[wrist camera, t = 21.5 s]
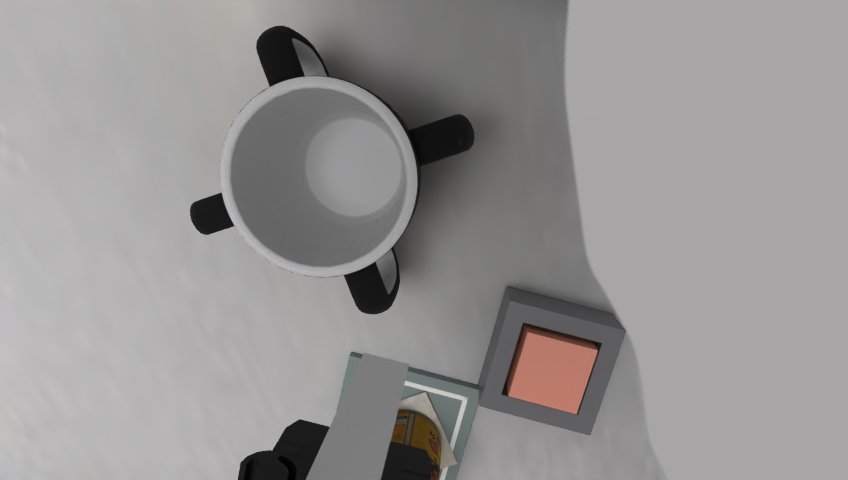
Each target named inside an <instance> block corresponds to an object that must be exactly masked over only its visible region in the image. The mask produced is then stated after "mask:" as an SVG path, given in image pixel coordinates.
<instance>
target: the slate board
mask: <svg viewBox="0 0 848 480" xmlns="http://www.w3.org/2000/svg"><path fill="white" fill-rule="evenodd" d="M362 356H363V355H361V354H357V353H353V352H351V354H350V357H349V361H348V365H347V370H346V374H345V378H344V382H343V387H342V391H341V395H340V400H339V404H338V408H339V406H340V404H341V402H342V400H343V398H344V395H345V393H346V391H347V389H348V387H349V384H350V382H351V380H352V378H353V376H354V374H355V371H356V369H357V367H358V365H359V363H360V361H361V358H362ZM424 392H426V393H427V396H428V398H429V400H430V402H431V405H432V407H433V409H434V411H435V413H436V415H437V418H438V420H439V422H440V424H441V426H442V429H443V431H444V433H445V435H446V438H447V440H448V442H449V444H450V447H451V449H452V451H453V454H454V456H455V458H456V461H457V463H458V464H456V465H452V466H448V467H445V468H443V469H440V472H439V480H455V479H456V475H457V472H458V468H459V465H460V462H461V458H462V455H463V451H464V448H465V445H466V441H467V438H468V434H469V431H470V427H471V424H472V421H473V417H474V414H475V410H476V407H477V403H478V400H479V388H478V385H474V384H470V383H467V382H463V381H459V380H455V379H452V378H448V377H444V376H440V375H436V374H433V373H429V372H425V371H421V370H418V369H414V368H410V367H408V371H407V375H406V379H405V383H404V388H403V392H402V396H401V400H403V399H406V398H409V397H412V396H415V395H418V394H421V393H424ZM401 400H400V401H401ZM338 408H337V411H338ZM336 413H337V412H336Z"/></svg>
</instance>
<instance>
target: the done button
mask: <svg viewBox="0 0 848 480" xmlns="http://www.w3.org/2000/svg"><path fill="white" fill-rule="evenodd" d="M597 352H598V350H597V348H596V347H595V345H594V343H593V342H592V340H588V339H585V338H581V337H577V336H573V335H569V334H565V333H562V332H558V331H554V330H550V329H546V328H542V327H539V326H535V325H531V324H527V323H523V324H522V327H521V331H520V334H519V337H518V341H517V344H516V347H515V351H514V354H513V357H512V361H511V364H510V367H509V371H508V374H507V377H506V385H507V391H508V396H509V397H513V398H517V399H521V400H524V401H528V402H532V403H536V404H539V405H543V406H547V407H551V408H555V409H558V410H562V411H566V412H570V413H573V414H577V411H578V408H579V406H580V403H581V400H582V397H583V394H584V391H585V388H586V385H587V382H588V379H589V376H590V373H591V370H592V367H593V364H594V361H595V358H596V355H597Z"/></svg>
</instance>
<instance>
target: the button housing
mask: <svg viewBox="0 0 848 480" xmlns="http://www.w3.org/2000/svg"><path fill="white" fill-rule="evenodd" d="M523 323H527V324H531V325H535V326H539V327H542V328H546V329H550V330H554V331H558V332H562V333H565V334H569V335H573V336H577V337H581V338H585V339H588V340H592V342H593V343H594V345H595V347H596V348H597V350H598V352H597V355H596V358H595V361H594V364H593V367H592V370H591V373H590V376H589V379H588V382H587V385H586V388H585V391H584V394H583V397H582V400H581V403H580V406H579V408H578V411H577V414H573V413H570V412H566V411H562V410H558V409H555V408H551V407H547V406H543V405H539V404H536V403H532V402H528V401H524V400H521V399H517V398H513V397H509V396H508V391H507V385H506V377H507V374H508V371H509V367H510V364H511V361H512V357H513V354H514V351H515V347H516V344H517V341H518V337H519V334H520V331H521V327H522V324H523ZM625 333H626V330H625V329H624V328H623V327H622V325H621V324H620V323H619V322H618V320H617V319H616V318H615V317H614V315H613V314H611V313H607V312H604V311H600V310H596V309H592V308H588V307H584V306H580V305H577V304H573V303H569V302H565V301H561V300H557V299H553V298H550V297H546V296H542V295H538V294H534V293H530V292H526V291H523V290H519V289H515V288H511V287H507V286H506V289H505V293H504V296H503V300H502V303H501V307H500V310H499V314H498V317H497V321H496V324H495V327H494V331H493V334H492V338H491V341H490V345H489V348H488V352H487V355H486V358H485V362H484V365H483V369H482V372H481V376H480V379H479V383H478V388H479V406H481V407H485V408H489V409H493V410H496V411H500V412H504V413H508V414H512V415H515V416H519V417H523V418H527V419H530V420H534V421H538V422H542V423H545V424H549V425H553V426H557V427H560V428H564V429H568V430H572V431H576V432H579V433H583V434H587V435H590V434H591V431H592V428H593V425H594V423H595V420H596V417H597V414H598V411H599V408H600V405H601V402H602V399H603V396H604V393H605V391H606V388H607V385H608V382H609V379H610V376H611V373H612V370H613V367H614V364H615V362H616V359H617V356H618V353H619V350H620V347H621V344H622V341H623V338H624V335H625Z"/></svg>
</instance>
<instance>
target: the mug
mask: <svg viewBox="0 0 848 480" xmlns="http://www.w3.org/2000/svg"><path fill="white" fill-rule="evenodd" d="M256 48H257V53H258V56H259V59H260V61H261V64H262V67H263V70H264V72H265V75H266V78H267V80H268V83H269V86H270V87H269V88H267V89H265V90H263V91H262V92H261V93H259V94H258V95H257V96H255V97H254V98H253V99H252V100H251V101H250V102H249V103H248V104H247V105H246V106H245V107H244V108H243V109H242V110H241V111H240V113H239V114H238V116H237V117H236V119H235V120H234V122H233V123H232V125H231V127H230V129H229V131H228V134H227V136H226V138H225V142H224V145H223V149H222V154H221V160H220V184H221V191H222V193H219V194H216V195H213V196H210V197H207V198H204V199H202V200H199V201H196V202H194V203H193V204H192V205H191V209H190V216H191V220H192V223H193V224H194V226H195V227H196V229H197V230H198V231H199V232H200V233H202V234H205V235H208V234H211V233H215V232H218V231H221V230H224V229H227V228H230V227H233V226H235V227H236V229H237V230H238V232H239V233H240V235H241V236H242V238H243V239H244V240H245V241H246V242H247V243H248V244H249V245H250V246H251V247H252V248H253V249H254V250H255V251H256V252H257V253H258V254H260V255H261V256H262V257H263V258H265V259H266V260H267V261H269V262H271V263H273V264H275V265H276V266H278V267H280V268H282V269H285V270H287V271H290V272H293V273H297V274H300V275H304V276H311V277H337V276H341V275H344V277H345V279H346V282H347V284H348V287H349V289H350V292H351V294H352V297H353V299H354V302H355V304H356V306H357V307H358V309H359V310H360V311H362V312H364V313H367V314H378V313H382V312H384V311H386V310H388V309H389V308H390V307H391V306H392V304H393V302H394V300H395V298H396V295H397V292H398V289H399V283H400V275H399V265H398V261H397V257H396V254H395V251H394V248H393V246H394V245H395V244H396V243H397V242H398V240H399V239H400V238H401V236H402V235H403V233H404V232H405V230H406V228H407V226H408V225H409V223H410V221H411V219H412V216H413V214H414V212H415V209H416V206H417V203H418V198H419V193H420V184H421V169H420V166H422V165H425V164H428V163H431V162H434V161H437V160H440V159H443V158H446V157H449V156H452V155H455V154H458V153H461V152H464V151H467V150H469V149H470V148H471V146H472V145H473V142H474V130H473V128H472V125H471V123H470V122H469V120H468V119H467V118H466V117H464V116H463V115H460V114H457V115H454V116H451V117H448V118H444V119H441V120H439V121H436V122H433V123H430V124H427V125H424V126H421V127H418V128H415V129H412V130H408V128H407V127H406V125H405V124H404V122H403V121H402V119H401V118H400V117H399V116H398V114H397V113H396V112H395V111H394V110H393V109H392V108H391V107H390V106H389V105H388V104H387V103H386V102H385V101H383V100H382V99H381V98H380V97H378V96H377V95H375V94H374V93H372V92H370V91H369V90H367V89H365V88H363V87H361V86H359V85H356V84H354V83H351V82H348V81H346V80H343V79H339V78H334V77H329V74H328V71H327V69H326V67H325V65H324V62H323V60H322V58H321V57H320V55H319V54H318V52H317V51H316V49H315V48H314V46H313V45H312V44H311V43H310V42H309V41H308V40H307V39H306V38H305V37H303V36H302V35H301V34H299V33H298V32H296V31H294V30H292V29H291V28H288V27H285V26H275V27H272V28H269V29H268V30H266V31H265V32H263V33H262V34H261V36H260V37H259V39H258V41H257V46H256Z"/></svg>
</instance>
